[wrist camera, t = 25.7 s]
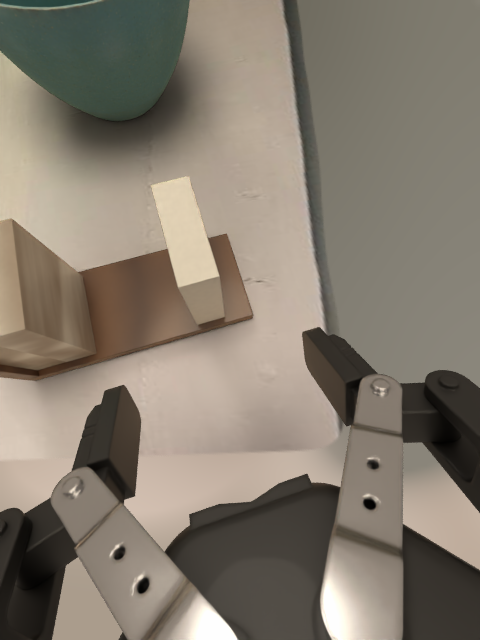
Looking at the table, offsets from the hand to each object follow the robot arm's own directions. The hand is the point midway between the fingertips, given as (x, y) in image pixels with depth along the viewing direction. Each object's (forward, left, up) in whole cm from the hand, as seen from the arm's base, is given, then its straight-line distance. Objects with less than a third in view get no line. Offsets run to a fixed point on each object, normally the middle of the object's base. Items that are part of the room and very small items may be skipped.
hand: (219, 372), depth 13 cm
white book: (+8, +3, -11) cm, 14 cm away
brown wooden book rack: (+6, +8, -12) cm, 16 cm away
